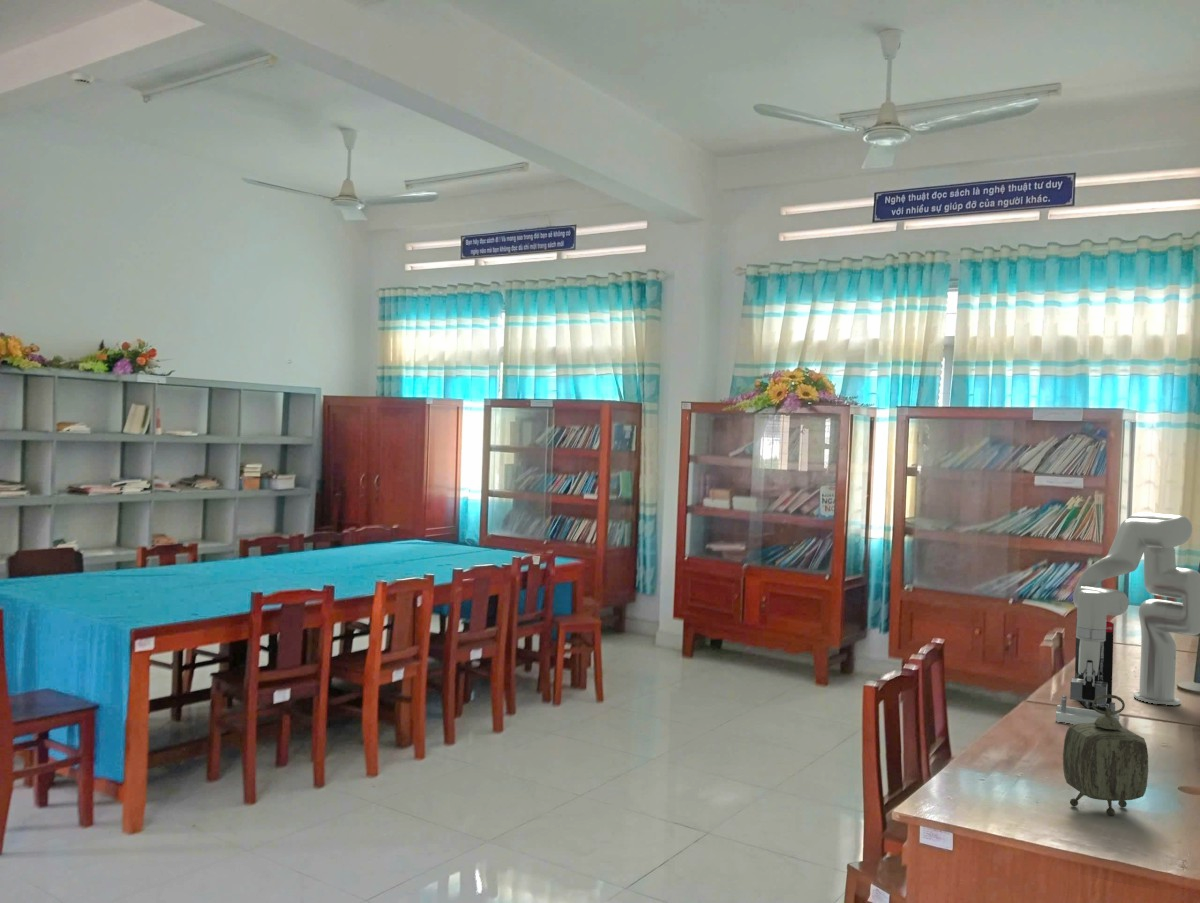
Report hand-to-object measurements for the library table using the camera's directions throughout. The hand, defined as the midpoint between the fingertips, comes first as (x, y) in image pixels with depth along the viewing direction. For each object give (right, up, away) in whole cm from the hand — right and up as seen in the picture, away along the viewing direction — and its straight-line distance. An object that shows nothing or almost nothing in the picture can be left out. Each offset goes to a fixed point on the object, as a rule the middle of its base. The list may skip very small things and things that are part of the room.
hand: (1088, 696), depth 275 cm
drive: (0, -1, 0) cm, 1 cm away
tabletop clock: (-32, -7, -69) cm, 76 cm away
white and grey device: (0, -7, 0) cm, 7 cm away
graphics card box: (+11, -8, +19) cm, 23 cm away
